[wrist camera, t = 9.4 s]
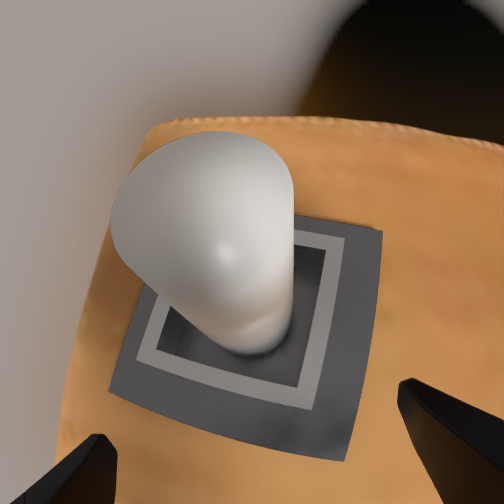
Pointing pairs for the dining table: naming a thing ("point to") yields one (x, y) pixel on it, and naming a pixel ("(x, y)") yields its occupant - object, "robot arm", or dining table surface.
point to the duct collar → (269, 354)
